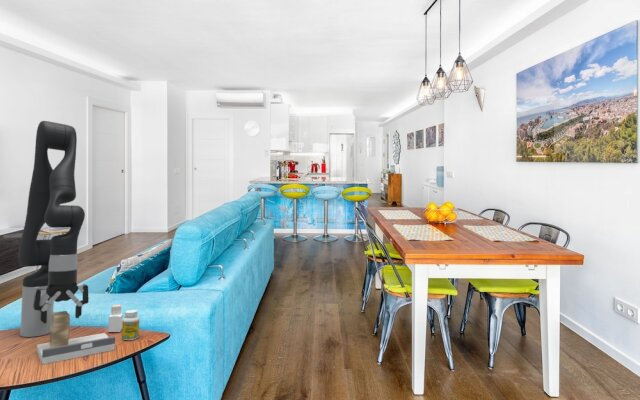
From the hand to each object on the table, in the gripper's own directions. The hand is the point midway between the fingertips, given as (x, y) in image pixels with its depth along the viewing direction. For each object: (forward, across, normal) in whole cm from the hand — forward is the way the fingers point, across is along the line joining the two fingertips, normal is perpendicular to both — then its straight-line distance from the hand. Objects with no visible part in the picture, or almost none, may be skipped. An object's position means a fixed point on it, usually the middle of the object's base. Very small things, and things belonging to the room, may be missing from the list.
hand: (61, 320), depth 120 cm
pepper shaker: (+10, -19, -11) cm, 24 cm away
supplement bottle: (+10, -21, 0) cm, 23 cm away
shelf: (+10, -4, +1) cm, 11 cm away
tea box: (+8, 0, 0) cm, 8 cm away
